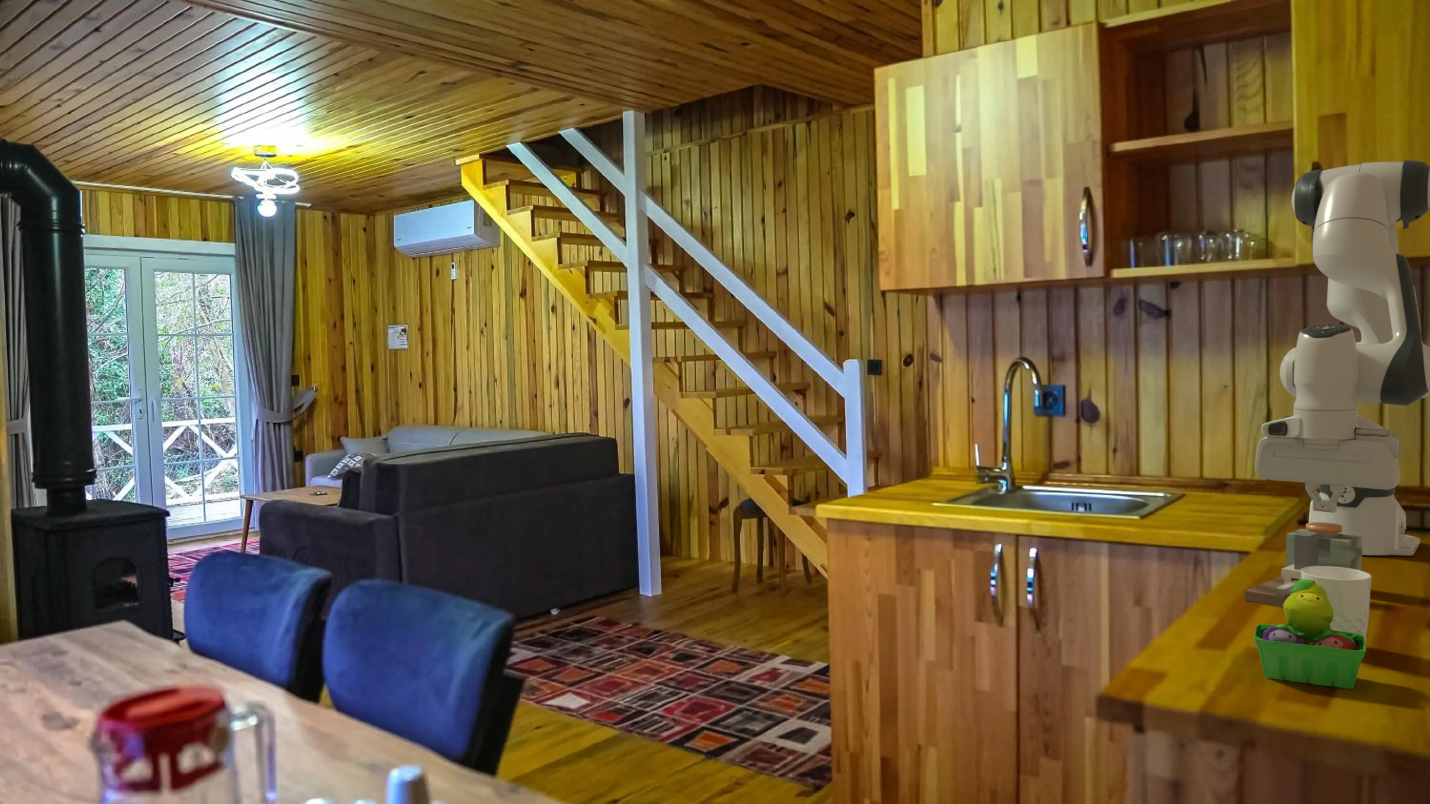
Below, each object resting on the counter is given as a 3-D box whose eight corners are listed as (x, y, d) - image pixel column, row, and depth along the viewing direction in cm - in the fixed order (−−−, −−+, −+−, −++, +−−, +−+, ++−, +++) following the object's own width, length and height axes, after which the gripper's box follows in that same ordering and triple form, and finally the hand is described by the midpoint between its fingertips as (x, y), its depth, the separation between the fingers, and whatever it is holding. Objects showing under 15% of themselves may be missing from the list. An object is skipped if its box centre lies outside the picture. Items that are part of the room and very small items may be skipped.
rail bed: (1297, 578, 168) (1297, 528, 167) (1365, 589, 160) (1365, 536, 160) (1245, 600, 155) (1245, 546, 155) (1315, 612, 148) (1316, 555, 147)
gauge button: (1312, 545, 165) (1313, 521, 165) (1346, 549, 161) (1347, 525, 161) (1300, 549, 162) (1300, 525, 162) (1335, 554, 158) (1335, 529, 158)
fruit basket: (1252, 679, 120) (1253, 587, 119) (1257, 659, 128) (1258, 571, 127) (1365, 695, 114) (1367, 597, 113) (1363, 672, 122) (1365, 581, 121)
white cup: (1381, 658, 127) (1382, 580, 126) (1313, 656, 128) (1313, 579, 128) (1354, 640, 134) (1356, 566, 134) (1290, 638, 136) (1291, 565, 135)
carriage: (1296, 577, 161) (1297, 529, 161) (1330, 582, 158) (1331, 533, 157) (1281, 583, 158) (1281, 534, 157) (1315, 589, 154) (1316, 538, 153)
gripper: (1407, 427, 155) (1406, 516, 156) (1267, 421, 170) (1267, 501, 172) (1393, 432, 151) (1392, 522, 152) (1251, 424, 167) (1251, 507, 168)
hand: (1324, 511), depth 162 cm, fingers closed
